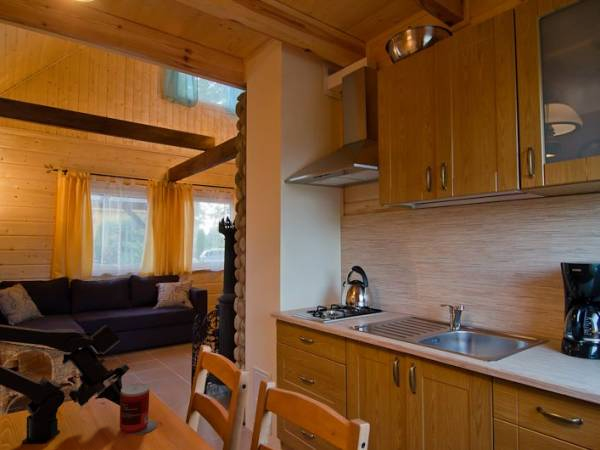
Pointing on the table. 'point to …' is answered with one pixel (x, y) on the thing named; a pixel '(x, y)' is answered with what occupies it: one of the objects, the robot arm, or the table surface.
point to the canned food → (134, 407)
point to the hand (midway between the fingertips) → (123, 405)
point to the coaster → (148, 428)
